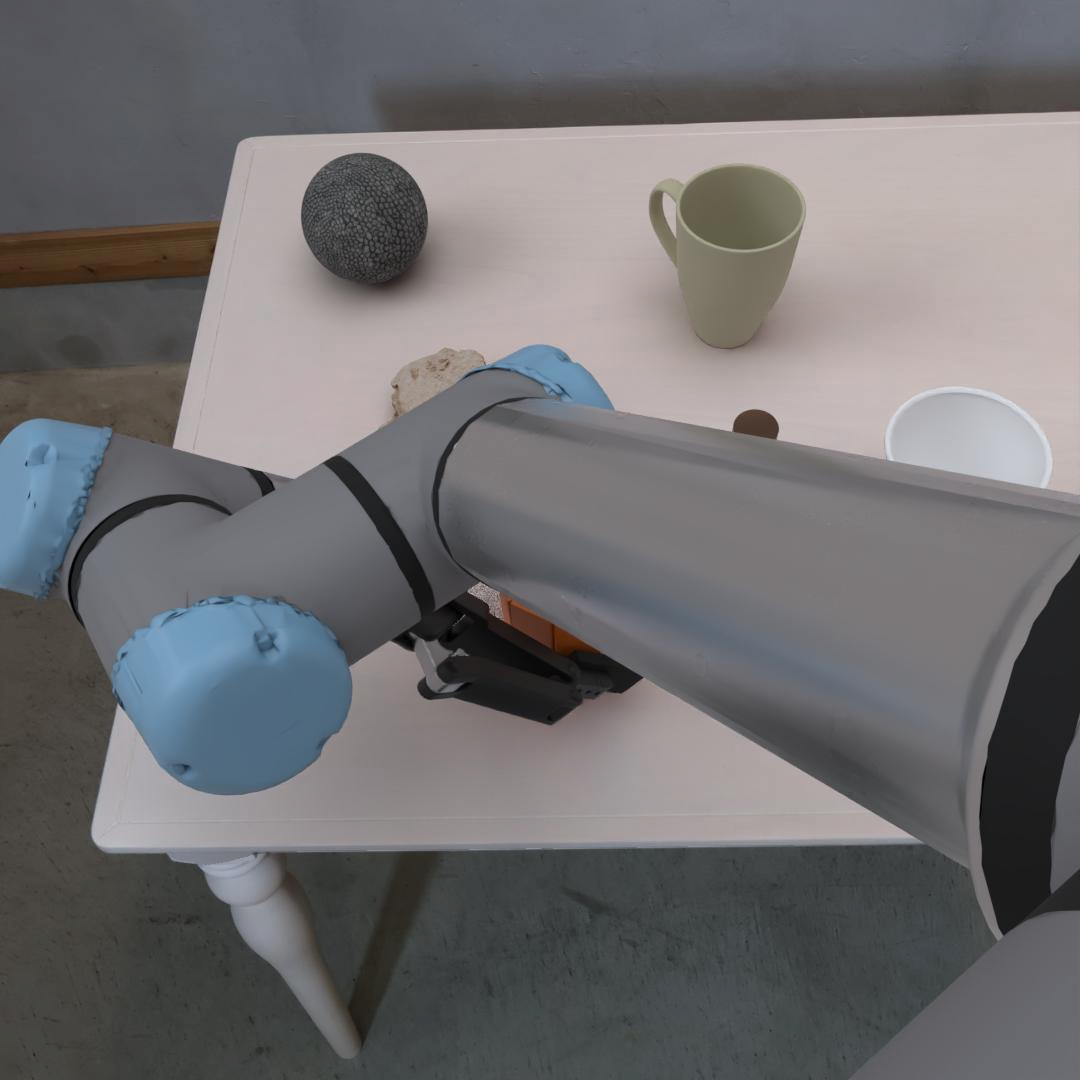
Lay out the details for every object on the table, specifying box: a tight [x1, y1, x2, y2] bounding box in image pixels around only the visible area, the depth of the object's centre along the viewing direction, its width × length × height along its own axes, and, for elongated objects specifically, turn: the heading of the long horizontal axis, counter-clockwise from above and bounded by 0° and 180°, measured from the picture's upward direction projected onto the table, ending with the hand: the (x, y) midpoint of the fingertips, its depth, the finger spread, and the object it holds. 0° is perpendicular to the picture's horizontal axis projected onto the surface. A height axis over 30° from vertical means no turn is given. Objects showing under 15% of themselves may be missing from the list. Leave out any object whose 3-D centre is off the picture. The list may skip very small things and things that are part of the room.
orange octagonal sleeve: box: [498, 592, 605, 657], centre depth 70 cm, size 7×7×11 cm
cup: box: [883, 385, 1055, 489], centre depth 73 cm, size 10×10×11 cm
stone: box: [377, 347, 487, 430], centre depth 82 cm, size 9×11×5 cm
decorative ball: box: [300, 152, 429, 284], centre depth 90 cm, size 10×10×10 cm
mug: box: [648, 163, 807, 349], centre depth 84 cm, size 11×10×12 cm
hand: (611, 620), depth 73 cm, fingers open, 8 cm apart
